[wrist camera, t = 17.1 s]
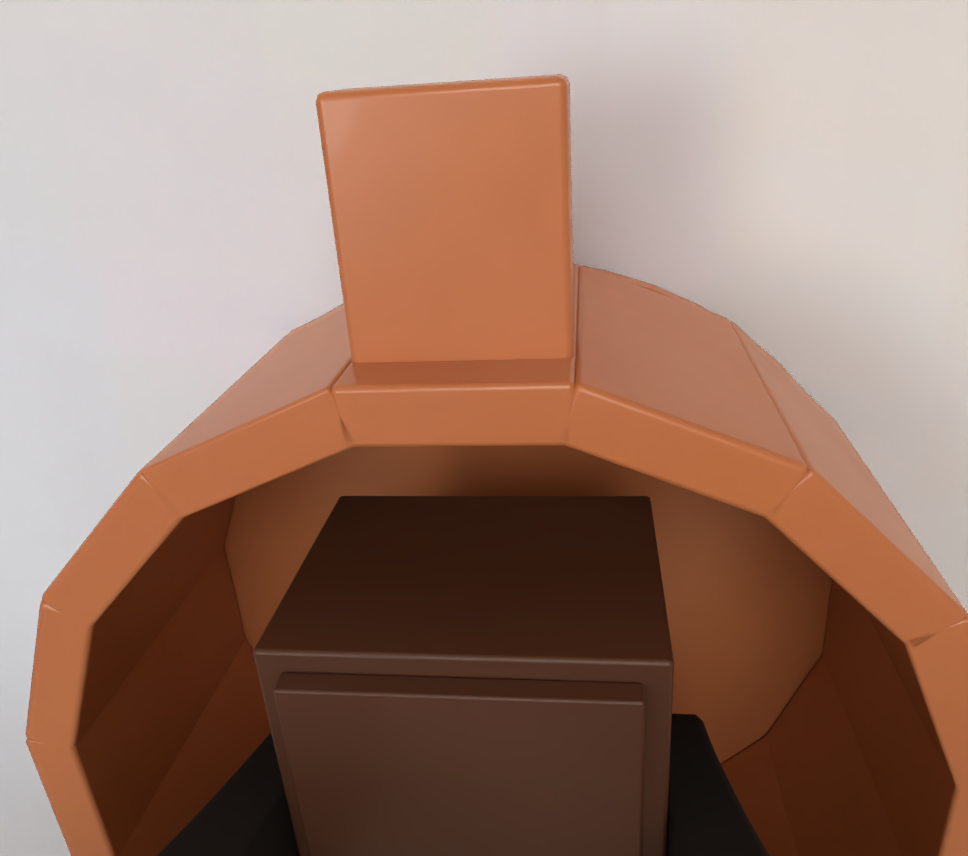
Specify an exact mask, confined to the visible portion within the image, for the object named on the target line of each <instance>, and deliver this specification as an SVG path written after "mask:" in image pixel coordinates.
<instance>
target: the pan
mask: <svg viewBox="0 0 968 856" xmlns="http://www.w3.org/2000/svg"><path fill="white" fill-rule="evenodd" d="M316 107H317V115H318V122H319V129H320V136H321V143H322V150H323V158H324V165H325V172H326V179H327V186H328V193H329V201H330V208H331V215H332V222H333V229H334V236H335V244H336V251H337V258H338V265H339V272H340V279H341V287H342V294H343V301H344V304H342V305H340V306H339V307H337V308H335V309H333V310H332V311H330V312H328V313H326V314H325V315H323V316H321V317H319V318H317V319H315V320H313V321H311V322H309V323H307V324H304V325H302V326H300V327H298V328H296V329H294V330H292V331H291V332H290V333H289V334H288V335H286V336H285V337H284V338H283V339H282V340H281V341H280V342H278V343H277V344H276V345H275V346H274V347H273V348H272V349H271V350H270V351H269V352H268V353H267V354H266V355H264V356H263V357H262V358H261V359H260V360H259V361H258V362H257V363H256V364H255V365H254V366H253V367H251V368H250V369H249V370H248V371H247V372H246V373H245V374H244V375H243V376H242V377H241V378H240V379H238V380H237V381H236V382H235V383H234V384H233V385H232V386H231V387H230V388H229V389H228V390H227V391H226V392H224V393H223V394H222V395H221V396H220V397H219V398H218V399H217V400H216V401H215V402H214V403H213V404H211V405H210V406H209V407H208V408H207V409H206V410H205V411H204V412H203V413H202V414H201V415H200V416H199V417H197V418H196V419H195V420H194V421H193V422H192V423H191V424H190V425H189V426H188V427H187V428H186V429H184V430H183V431H182V432H181V433H180V434H179V435H178V436H177V437H176V438H175V439H174V440H173V441H172V442H170V443H169V444H168V445H167V446H166V447H165V448H164V449H163V450H162V451H161V452H160V453H159V454H157V455H156V456H155V457H154V458H153V459H152V460H151V461H150V462H149V463H148V464H147V465H146V466H145V467H143V468H142V469H141V470H140V471H139V472H138V473H137V474H136V476H135V477H134V478H133V480H132V481H131V482H130V483H129V485H128V486H127V487H126V489H125V490H124V491H123V492H122V494H121V495H120V496H119V498H118V499H117V500H116V501H115V503H114V504H113V505H112V506H111V508H110V509H109V510H108V512H107V513H106V514H105V515H104V517H103V518H102V519H101V521H100V522H99V523H98V524H97V526H96V527H95V528H94V530H93V531H92V532H91V533H90V535H89V536H88V537H87V539H86V540H85V541H84V542H83V544H82V545H81V546H80V548H79V549H78V550H77V551H76V553H75V554H74V555H73V557H72V558H71V559H70V560H69V562H68V563H67V564H66V565H65V567H64V568H63V569H62V571H61V572H60V573H59V574H58V576H57V577H56V578H55V580H54V581H53V582H52V583H51V585H50V586H49V587H48V589H47V590H46V591H45V592H44V594H43V597H42V601H41V604H40V610H39V619H38V628H37V637H36V646H35V655H34V664H33V673H32V682H31V691H30V700H29V709H28V718H27V727H26V736H27V740H26V743H27V746H28V748H29V751H30V753H31V756H32V758H33V761H34V763H35V766H36V768H37V771H38V773H39V776H40V778H41V781H42V784H43V786H44V789H45V791H46V794H47V796H48V799H49V801H50V804H51V806H52V809H53V811H54V814H55V816H56V819H57V821H58V824H59V826H60V829H61V831H62V834H63V836H64V839H65V841H66V844H67V847H68V849H69V852H70V854H71V856H156V855H157V854H158V853H159V852H160V851H161V850H162V849H163V848H164V847H165V846H166V845H167V844H168V843H169V842H170V841H171V840H172V839H173V838H174V837H175V836H176V835H177V834H178V833H179V832H180V831H181V830H182V829H183V828H184V827H185V826H186V825H187V824H188V823H189V822H190V821H191V820H192V819H193V818H194V817H195V816H196V815H197V814H198V812H199V811H200V810H201V809H202V808H203V807H204V806H205V805H206V804H207V803H208V802H209V801H210V799H211V798H212V797H213V796H214V795H215V794H216V793H217V792H218V791H219V790H220V789H221V788H222V786H223V785H224V784H225V783H226V782H227V781H228V780H229V779H230V778H231V777H232V776H233V774H234V773H235V772H236V771H237V770H238V769H239V768H240V767H241V765H242V764H243V763H244V762H245V761H246V760H247V759H248V758H249V756H250V755H251V754H252V753H253V752H254V751H255V750H256V748H257V747H258V746H259V745H260V744H261V743H262V742H263V740H264V739H265V738H266V737H267V736H268V735H269V733H270V732H271V730H270V725H269V721H268V716H267V712H266V708H265V703H264V699H263V695H262V690H261V686H260V681H259V677H258V673H257V668H256V664H255V660H254V655H253V651H254V648H255V646H256V645H257V643H258V641H259V639H260V638H261V636H262V634H263V632H264V630H265V629H266V627H267V625H268V623H269V622H270V620H271V618H272V616H273V614H274V613H275V611H276V609H277V607H278V606H279V604H280V602H281V600H282V599H283V597H284V595H285V593H286V591H287V590H288V588H289V586H290V584H291V583H292V581H293V579H294V577H295V575H296V574H297V572H298V570H299V568H300V567H301V565H302V563H303V561H304V559H305V558H306V556H307V554H308V552H309V551H310V549H311V547H312V545H313V543H314V542H315V540H316V538H317V536H318V535H319V533H320V531H321V529H322V527H323V526H324V524H325V522H326V520H327V519H328V517H329V515H330V513H331V511H332V510H333V508H334V506H335V504H336V503H337V501H338V499H339V497H341V496H648V497H649V498H650V500H651V506H652V513H653V520H654V527H655V534H656V541H657V548H658V555H659V562H660V569H661V576H662V583H663V590H664V597H665V604H666V611H667V618H668V625H669V632H670V639H671V646H672V653H673V660H674V676H673V700H672V714H696V715H697V716H698V717H699V718H700V719H701V720H702V721H703V722H704V725H705V728H706V730H707V733H708V736H709V738H710V741H711V743H712V745H713V748H714V750H715V753H716V755H717V757H718V759H719V762H720V764H721V766H722V768H723V770H724V772H725V774H726V776H727V778H728V780H729V782H730V784H731V786H732V788H733V790H734V792H735V794H736V796H737V798H738V800H739V802H740V804H741V806H742V808H743V810H744V812H745V814H746V815H747V817H748V819H749V821H750V823H751V825H752V826H753V828H754V830H755V832H756V833H757V835H758V837H759V839H760V840H761V842H762V844H763V846H764V847H765V849H766V851H767V853H768V854H769V856H968V614H967V612H966V611H965V609H964V608H963V606H962V605H961V603H960V602H959V600H958V599H957V598H956V596H955V595H954V593H953V592H952V590H951V589H950V587H949V586H948V584H947V583H946V581H945V580H944V578H943V577H942V576H941V574H940V573H939V571H938V570H937V568H936V567H935V565H934V564H933V562H932V561H931V559H930V558H929V557H928V555H927V554H926V552H925V551H924V549H923V548H922V546H921V545H920V543H919V542H918V540H917V539H916V538H915V536H914V535H913V533H912V532H911V530H910V529H909V527H908V526H907V524H906V523H905V521H904V520H903V519H902V517H901V516H900V514H899V513H898V511H897V510H896V508H895V507H894V505H893V504H892V502H891V501H890V500H889V498H888V497H887V495H886V494H885V492H884V491H883V489H882V488H881V486H880V485H879V483H878V482H877V481H876V479H875V478H874V476H873V475H872V473H871V472H870V470H869V469H868V467H867V466H866V464H865V463H864V462H863V460H862V459H861V457H860V456H859V454H858V453H857V451H856V450H855V448H854V447H853V445H852V444H851V443H850V441H849V440H848V438H847V437H846V435H845V434H844V432H843V431H842V429H841V428H840V426H839V425H838V424H837V422H836V421H835V419H833V418H832V417H831V416H830V415H829V414H828V413H827V412H826V411H825V410H824V409H823V408H822V407H821V406H820V405H819V404H818V403H817V402H816V401H815V400H814V399H813V398H812V397H811V396H810V395H809V394H808V393H807V392H806V391H804V390H803V389H802V387H801V386H800V385H799V384H798V383H797V382H796V381H795V380H794V378H793V377H792V376H791V375H790V374H789V373H788V372H787V371H786V370H785V368H784V367H783V366H782V365H781V364H780V363H779V362H778V361H777V360H775V359H774V358H773V357H772V356H771V355H769V354H768V353H767V352H766V351H765V350H764V349H762V348H761V347H760V346H759V345H758V344H756V343H755V342H754V341H753V340H752V339H751V338H750V337H749V336H747V335H746V334H745V333H744V332H743V331H742V330H741V329H740V328H739V327H738V326H737V325H736V324H735V323H733V322H729V320H728V319H726V318H724V317H722V316H719V315H716V314H714V313H711V312H710V311H708V310H706V309H705V308H703V307H701V306H700V305H697V304H695V303H693V302H691V301H689V300H686V299H684V298H682V297H680V296H677V295H675V294H673V293H671V292H668V291H666V290H664V289H662V288H659V287H657V286H655V285H652V284H649V283H645V282H642V281H639V280H635V279H632V278H629V277H625V276H622V275H618V274H615V273H612V272H608V271H605V270H599V269H593V268H589V267H586V266H578V265H575V264H573V231H572V179H571V127H570V83H569V80H568V78H567V77H566V76H564V75H561V74H558V75H543V76H529V77H514V78H499V79H485V80H470V81H455V82H441V83H426V84H411V85H397V86H382V87H367V88H353V89H342V90H335V91H327V92H323V93H321V94H319V95H317V100H316Z"/></svg>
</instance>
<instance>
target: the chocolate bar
mask: <svg viewBox="0 0 968 856" xmlns="http://www.w3.org/2000/svg"><path fill="white" fill-rule="evenodd" d="M253 655H254V660H255V664H256V668H257V673H258V677H259V681H260V686H261V690H262V695H263V699H264V703H265V708H266V712H267V716H268V721H269V725H270V730H271V734H272V738H273V743H274V747H275V751H276V756H277V760H278V764H279V769H280V773H281V778H282V782H283V786H284V791H285V795H286V799H287V804H288V808H289V813H290V817H291V821H292V826H293V830H294V834H295V839H296V843H297V847H298V852H299V856H666V847H667V823H668V798H669V774H670V749H671V725H672V700H673V676H674V660H673V653H672V646H671V639H670V632H669V625H668V618H667V611H666V604H665V597H664V590H663V583H662V576H661V569H660V562H659V555H658V548H657V541H656V534H655V527H654V520H653V513H652V506H651V500H650V498H649V497H648V496H341V497H339V499H338V501H337V503H336V504H335V506H334V508H333V510H332V511H331V513H330V515H329V517H328V519H327V520H326V522H325V524H324V526H323V527H322V529H321V531H320V533H319V535H318V536H317V538H316V540H315V542H314V543H313V545H312V547H311V549H310V551H309V552H308V554H307V556H306V558H305V559H304V561H303V563H302V565H301V567H300V568H299V570H298V572H297V574H296V575H295V577H294V579H293V581H292V583H291V584H290V586H289V588H288V590H287V591H286V593H285V595H284V597H283V599H282V600H281V602H280V604H279V606H278V607H277V609H276V611H275V613H274V614H273V616H272V618H271V620H270V622H269V623H268V625H267V627H266V629H265V630H264V632H263V634H262V636H261V638H260V639H259V641H258V643H257V645H256V646H255V648H254V651H253Z"/></svg>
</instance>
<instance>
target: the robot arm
mask: <svg viewBox="0 0 968 856" xmlns="http://www.w3.org/2000/svg"><path fill="white" fill-rule="evenodd" d="M156 856H299V852H298V847H297V843H296V839H295V834H294V830H293V826H292V821H291V817H290V813H289V808H288V804H287V799H286V795H285V791H284V786H283V782H282V778H281V773H280V769H279V764H278V760H277V756H276V751H275V747H274V743H273V738H272V734H271V732H270V733H269V735H268V736H267V737H266V738H265V739H264V740H263V742H262V743H261V744H260V745H259V746H258V747H257V748H256V750H255V751H254V752H253V753H252V754H251V755H250V756H249V758H248V759H247V760H246V761H245V762H244V763H243V764H242V765H241V767H240V768H239V769H238V770H237V771H236V772H235V773H234V774H233V776H232V777H231V778H230V779H229V780H228V781H227V782H226V783H225V784H224V785H223V786H222V788H221V789H220V790H219V791H218V792H217V793H216V794H215V795H214V796H213V797H212V798H211V799H210V801H209V802H208V803H207V804H206V805H205V806H204V807H203V808H202V809H201V810H200V811H199V812H198V814H197V815H196V816H195V817H194V818H193V819H192V820H191V821H190V822H189V823H188V824H187V825H186V826H185V827H184V828H183V829H182V830H181V831H180V832H179V833H178V834H177V835H176V836H175V837H174V838H173V839H172V840H171V841H170V842H169V843H168V844H167V845H166V846H165V847H164V848H163V849H162V850H161V851H160V852H159V853H158V854H157V855H156ZM666 856H769V854H768V853H767V851H766V849H765V847H764V846H763V844H762V842H761V840H760V839H759V837H758V835H757V833H756V832H755V830H754V828H753V826H752V825H751V823H750V821H749V819H748V817H747V815H746V814H745V812H744V810H743V808H742V806H741V804H740V802H739V800H738V798H737V796H736V794H735V792H734V790H733V788H732V786H731V784H730V782H729V780H728V778H727V776H726V774H725V772H724V770H723V768H722V766H721V764H720V762H719V759H718V757H717V755H716V753H715V750H714V748H713V745H712V743H711V741H710V738H709V736H708V733H707V730H706V728H705V725H704V722H703V721H702V720H701V719H700V718H699V717H698V716H697V715H696V714H672V725H671V749H670V774H669V798H668V823H667V847H666Z"/></svg>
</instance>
